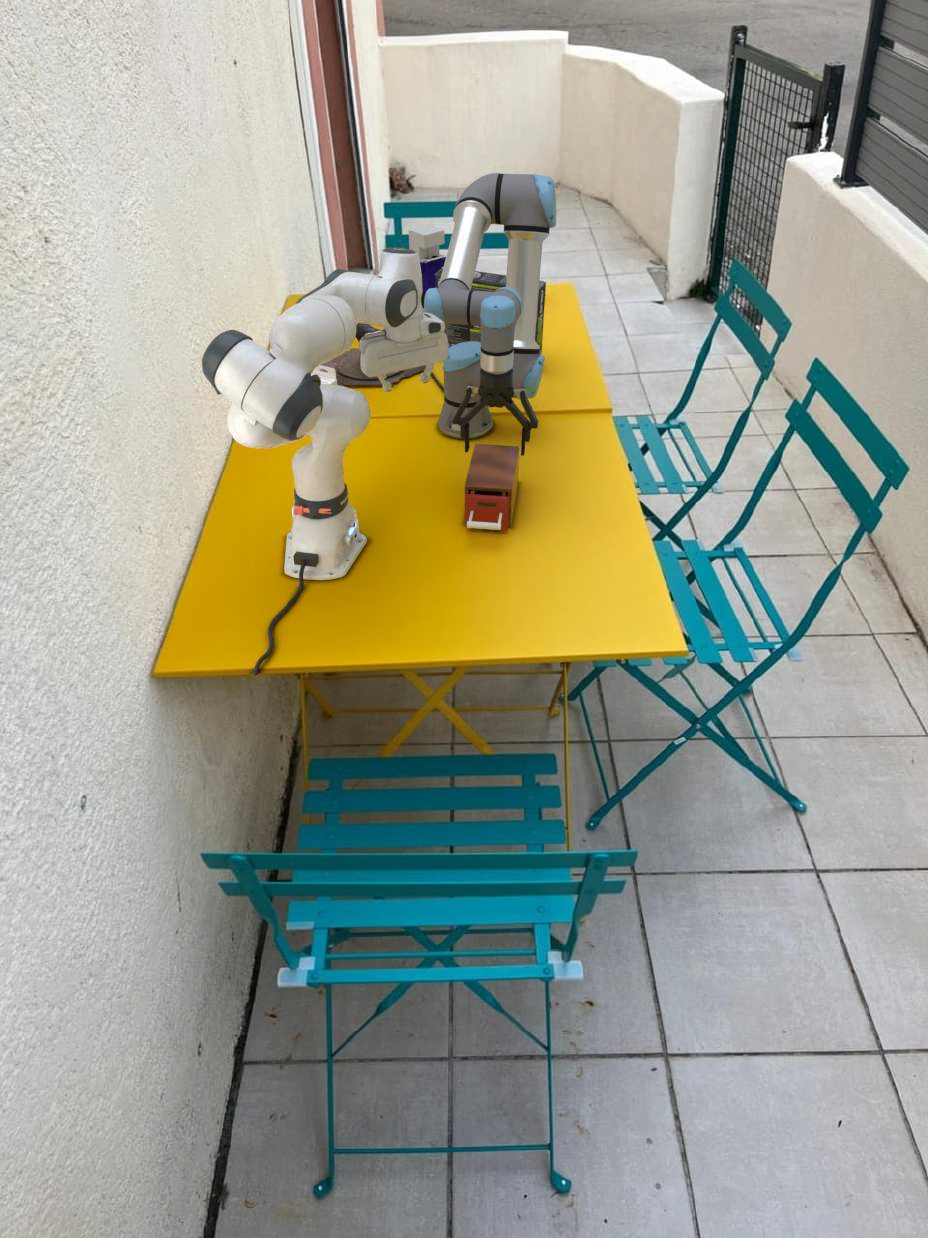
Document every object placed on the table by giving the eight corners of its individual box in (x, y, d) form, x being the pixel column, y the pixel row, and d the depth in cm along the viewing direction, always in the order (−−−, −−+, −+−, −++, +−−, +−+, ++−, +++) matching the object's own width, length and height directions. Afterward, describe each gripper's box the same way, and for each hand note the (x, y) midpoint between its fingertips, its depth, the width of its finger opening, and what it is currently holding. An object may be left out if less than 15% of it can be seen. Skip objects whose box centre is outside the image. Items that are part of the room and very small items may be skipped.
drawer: (504, 545, 203) (505, 513, 198) (462, 542, 204) (461, 510, 199) (514, 488, 222) (515, 457, 217) (475, 485, 223) (475, 455, 218)
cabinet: (510, 527, 211) (512, 489, 204) (464, 524, 212) (464, 485, 205) (518, 483, 226) (519, 446, 219) (475, 480, 227) (475, 443, 220)
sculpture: (406, 397, 263) (403, 345, 252) (297, 384, 270) (290, 333, 259) (437, 352, 287) (436, 303, 277) (336, 341, 294) (331, 293, 284)
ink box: (306, 417, 253) (300, 368, 244) (316, 410, 257) (310, 362, 247) (331, 424, 250) (326, 375, 241) (341, 416, 254) (336, 368, 244)
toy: (460, 304, 319) (459, 216, 299) (477, 312, 313) (477, 222, 294) (381, 329, 302) (375, 237, 283) (398, 337, 296) (393, 244, 277)
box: (542, 365, 279) (547, 279, 262) (535, 374, 274) (539, 287, 257) (444, 349, 289) (443, 265, 272) (435, 358, 284) (433, 273, 266)
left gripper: (364, 339, 184) (369, 401, 193) (451, 321, 191) (452, 382, 200) (352, 329, 188) (358, 390, 197) (438, 312, 196) (439, 372, 204)
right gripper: (552, 363, 203) (547, 446, 217) (444, 358, 206) (446, 440, 219) (550, 377, 197) (545, 461, 211) (440, 371, 200) (441, 455, 213)
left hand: (406, 386), depth 199 cm, fingers open, 8 cm apart
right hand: (494, 451), depth 215 cm, fingers open, 13 cm apart
